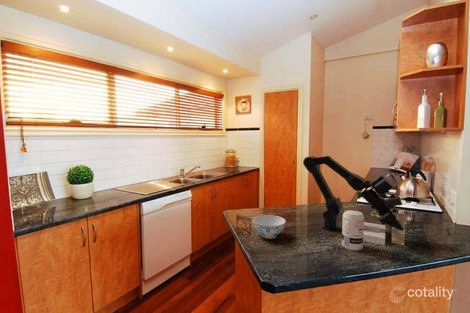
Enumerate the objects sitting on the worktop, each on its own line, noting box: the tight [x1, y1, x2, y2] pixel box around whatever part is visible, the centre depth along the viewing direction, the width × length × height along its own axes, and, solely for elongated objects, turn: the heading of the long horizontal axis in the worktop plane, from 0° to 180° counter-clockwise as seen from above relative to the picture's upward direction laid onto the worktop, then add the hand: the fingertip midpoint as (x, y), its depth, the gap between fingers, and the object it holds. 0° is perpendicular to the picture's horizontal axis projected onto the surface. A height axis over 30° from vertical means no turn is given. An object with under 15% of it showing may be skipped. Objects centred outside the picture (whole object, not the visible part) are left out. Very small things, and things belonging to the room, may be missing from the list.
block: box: [391, 212, 407, 246], centre depth 111 cm, size 4×4×12 cm
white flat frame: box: [363, 221, 386, 246], centre depth 119 cm, size 12×18×3 cm, turn 149°
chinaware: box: [253, 214, 286, 240], centre depth 118 cm, size 15×15×8 cm
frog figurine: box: [370, 194, 400, 219], centre depth 141 cm, size 10×18×15 cm, turn 23°
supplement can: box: [341, 209, 365, 252], centre depth 106 cm, size 8×8×15 cm
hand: (402, 228), depth 110 cm, fingers closed on block, 4 cm apart
